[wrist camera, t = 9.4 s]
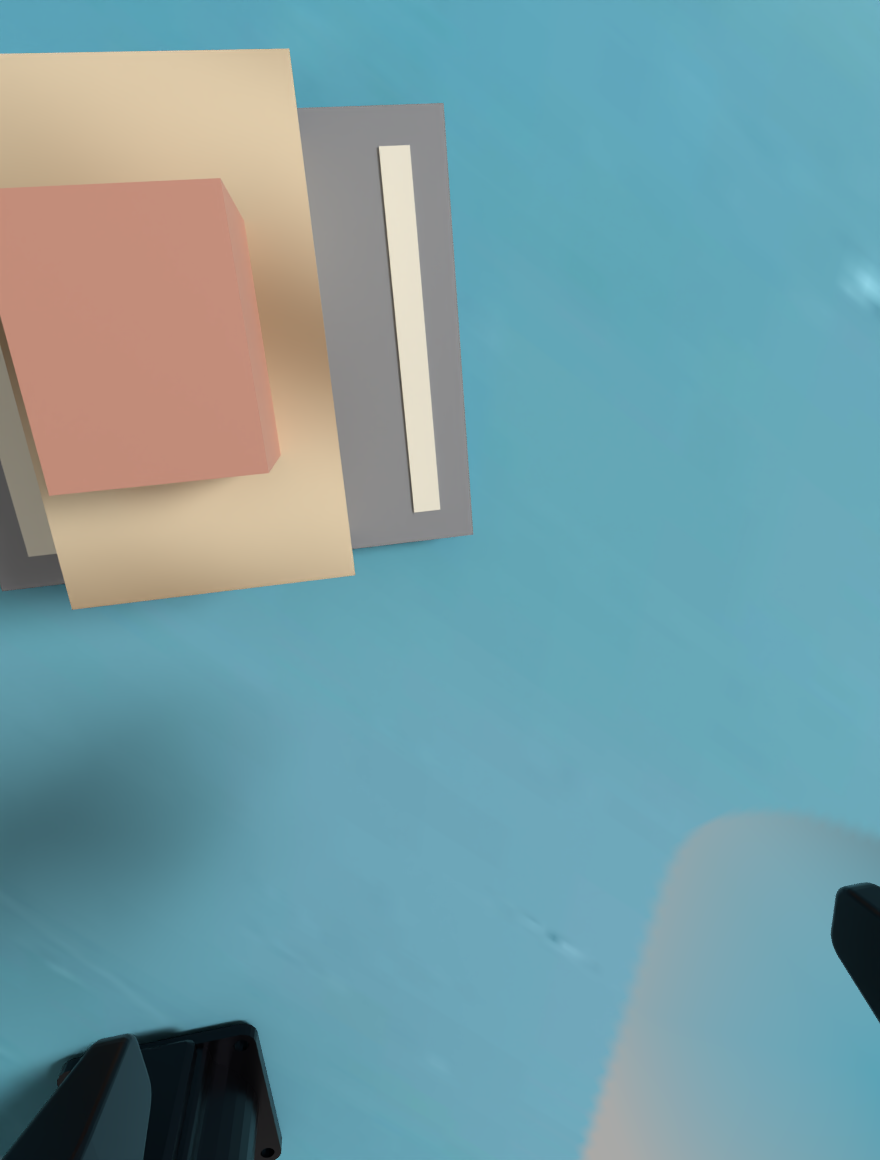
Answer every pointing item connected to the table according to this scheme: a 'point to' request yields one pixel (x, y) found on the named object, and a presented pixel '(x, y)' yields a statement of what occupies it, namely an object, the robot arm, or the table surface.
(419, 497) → the dock
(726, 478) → the table surface
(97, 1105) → the robot arm
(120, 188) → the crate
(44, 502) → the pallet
